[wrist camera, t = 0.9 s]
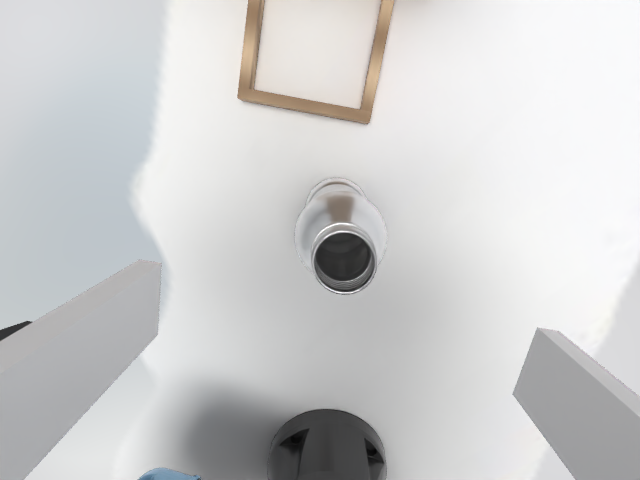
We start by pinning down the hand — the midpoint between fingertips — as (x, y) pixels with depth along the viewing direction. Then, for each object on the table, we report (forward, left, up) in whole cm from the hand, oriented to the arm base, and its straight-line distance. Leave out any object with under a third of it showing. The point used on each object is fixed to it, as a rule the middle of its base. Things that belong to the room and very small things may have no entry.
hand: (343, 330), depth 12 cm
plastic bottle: (0, 0, -27) cm, 27 cm away
